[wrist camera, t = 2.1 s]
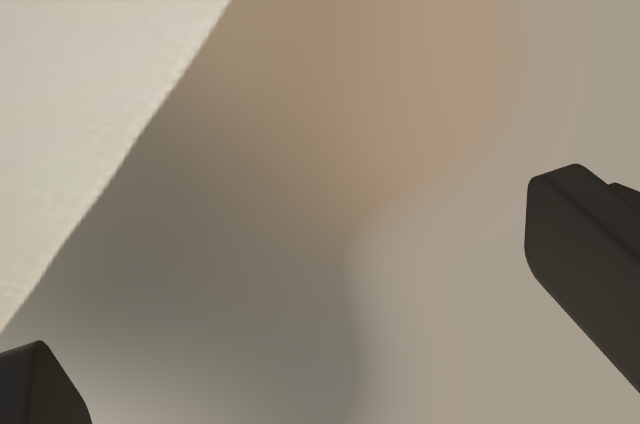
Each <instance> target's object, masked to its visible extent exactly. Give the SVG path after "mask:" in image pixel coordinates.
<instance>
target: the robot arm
mask: <svg viewBox="0 0 640 424" xmlns="http://www.w3.org/2000/svg"><path fill="white" fill-rule="evenodd" d="M526 209H527V210H526V225H525V242H524V244H525V245H524V248H525V255H526V259H527V262H528V265H529V267H530V269H531V271H532V273H533V275H534V276H535V278H536V279H537V280H538V281H539V283H540V284H541V285H542V286H543V287H544V288H545V290H546V291H547V292H548V293H549V294H550V295H551V296H552V297H553V298H554V299H555V301H556V302H557V303H558V304H559V305H560V306H561V307H562V308H563V309H564V310H565V312H567V314H568V315H569V316H570V317H571V318H572V319H573V320H574V322H575V323H576V324H577V325H578V326H579V327H580V328H581V329H582V330H583V331H584V333H586V334H587V336H588V337H589V338H590V339H591V340H592V341H593V342H594V343H595V344H596V346H597V347H598V348H599V349H600V350H601V351H602V352H603V353H604V355H605V356H606V357H607V358H608V359H609V360H610V361H611V362H612V363H613V364H614V366H615V367H616V368H617V369H618V370H619V371H620V372H621V373H622V374H623V375H624V377H626V379H627V380H628V381H629V382H630V383H631V384H632V385H633V386H634V388H635V389H636V390H637V391H638V392H639V393H640V192H639V191H636V190H634V189H631V188H628V187H626V186H623V185H621V184H618V183H612V184H609V185H608V184H606V183H605V182H604V181H602V180H601V179H600V178H599V177H597V176H596V175H595V174H593V173H592V172H591V171H589V170H588V169H587V168H585V167H584V166H582V165H580V164H571V165H568V166H565V167H562V168H559V169H556V170H553V171H551V172H548V173H544V174H541V175H538V176H535V177H533V178H532V179H531V180H530V182H529V184H528V191H527V208H526ZM0 424H92V422H91V417H90V414H89V412H88V409H87V406H86V404H85V402H84V400H83V398H82V397H81V396H80V394H79V392H78V391H77V389H76V388H75V387H74V385H73V383H72V382H71V380H70V379H69V377H68V376H67V374H66V373H65V371H64V370H63V368H62V367H61V365H60V364H59V362H58V360H57V359H56V357H55V356H54V355H53V353H52V351H51V350H50V348H49V347H48V346H47V345H46V344H45V343H44V342H43V341H40V340H39V341H35V342H32V343H29V344H26V345H23V346H20V347H17V348H14V349H11V350H8V351H5V352H2V353H0Z"/></svg>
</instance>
